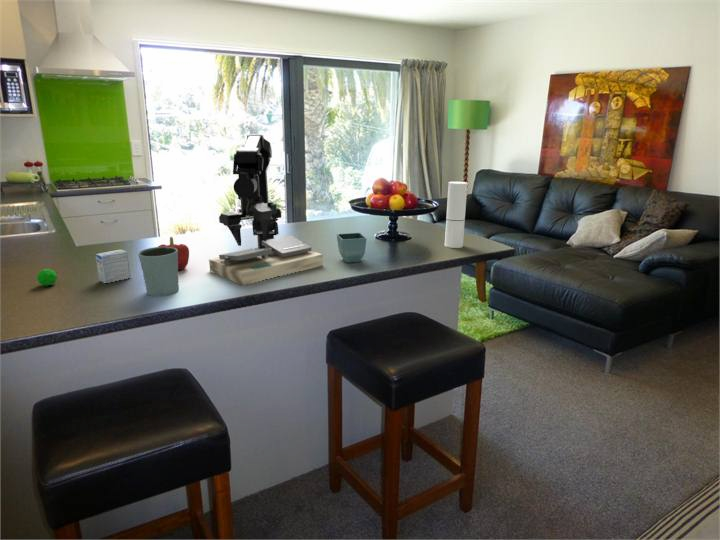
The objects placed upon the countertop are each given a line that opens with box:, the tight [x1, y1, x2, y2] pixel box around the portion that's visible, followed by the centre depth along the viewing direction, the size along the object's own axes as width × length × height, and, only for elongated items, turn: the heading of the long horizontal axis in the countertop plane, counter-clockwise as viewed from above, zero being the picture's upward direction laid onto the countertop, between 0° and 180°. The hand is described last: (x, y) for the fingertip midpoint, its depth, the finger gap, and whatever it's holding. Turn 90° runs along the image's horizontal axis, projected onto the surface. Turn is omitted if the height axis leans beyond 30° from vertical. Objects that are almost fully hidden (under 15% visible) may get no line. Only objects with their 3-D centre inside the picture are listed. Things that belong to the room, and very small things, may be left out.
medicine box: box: [94, 249, 132, 284], centre depth 147 cm, size 8×4×9 cm, turn 141°
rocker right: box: [262, 235, 312, 257], centre depth 165 cm, size 12×12×2 cm
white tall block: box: [444, 181, 468, 249], centre depth 190 cm, size 7×7×25 cm
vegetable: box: [157, 236, 190, 271], centre depth 158 cm, size 11×10×10 cm
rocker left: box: [218, 248, 272, 261], centre depth 154 cm, size 12×12×2 cm
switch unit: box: [208, 240, 324, 286], centre depth 161 cm, size 20×31×7 cm, turn 135°
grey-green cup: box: [137, 246, 180, 297], centre depth 137 cm, size 10×10×12 cm
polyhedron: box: [36, 268, 58, 287], centre depth 142 cm, size 5×5×5 cm
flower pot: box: [336, 232, 367, 263], centre depth 170 cm, size 9×9×9 cm
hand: (252, 243), depth 150 cm, fingers open, 9 cm apart
